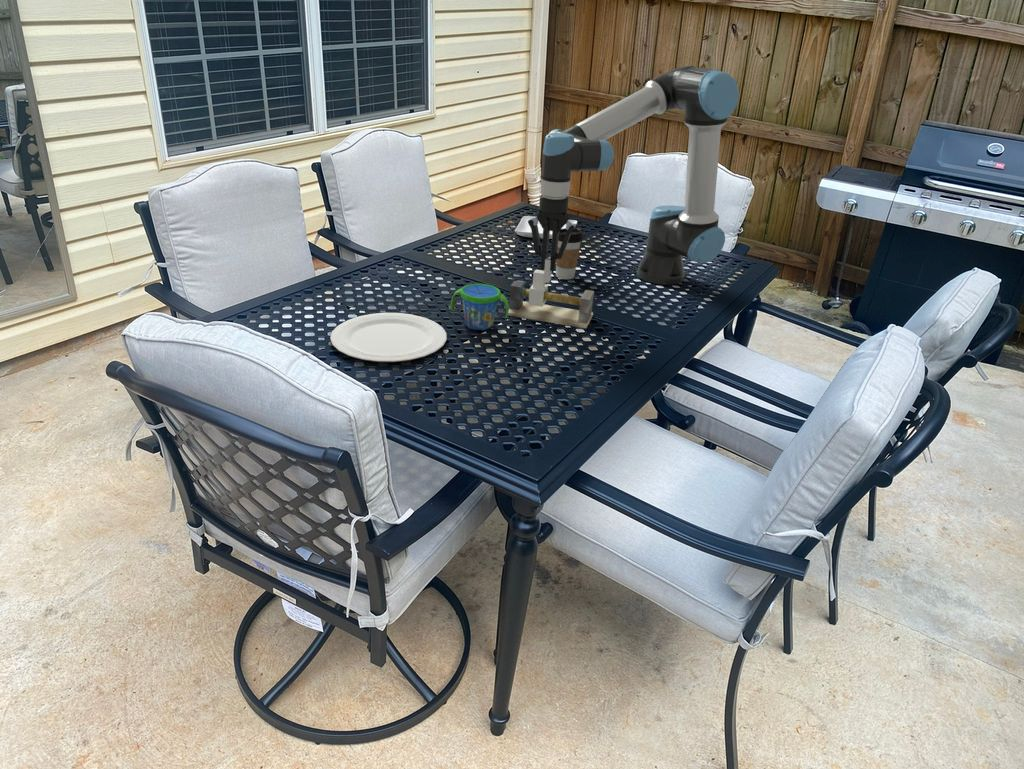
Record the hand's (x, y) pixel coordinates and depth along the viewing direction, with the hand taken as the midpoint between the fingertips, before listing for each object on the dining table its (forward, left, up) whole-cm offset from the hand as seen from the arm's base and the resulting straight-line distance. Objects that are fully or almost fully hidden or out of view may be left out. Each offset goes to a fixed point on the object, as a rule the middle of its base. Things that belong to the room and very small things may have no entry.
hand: (547, 280), depth 204 cm
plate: (+32, +33, -11) cm, 47 cm away
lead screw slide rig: (-2, 0, -10) cm, 10 cm away
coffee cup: (+1, -33, -10) cm, 35 cm away
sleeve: (+2, 0, -7) cm, 7 cm away
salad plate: (+18, -76, -11) cm, 79 cm away
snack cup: (+14, +15, -10) cm, 23 cm away
